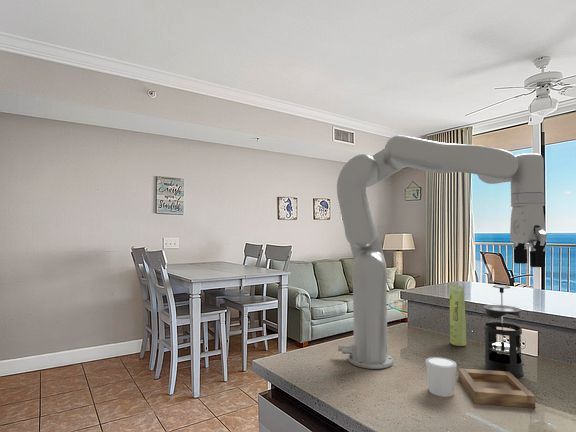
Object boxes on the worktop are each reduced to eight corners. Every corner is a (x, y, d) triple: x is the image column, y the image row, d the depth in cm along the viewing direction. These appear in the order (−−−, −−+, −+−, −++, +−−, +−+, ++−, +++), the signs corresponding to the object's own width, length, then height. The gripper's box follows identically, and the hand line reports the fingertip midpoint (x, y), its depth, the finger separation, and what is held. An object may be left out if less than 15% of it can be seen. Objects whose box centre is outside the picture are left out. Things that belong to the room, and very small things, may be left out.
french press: (534, 378, 95) (531, 288, 96) (498, 379, 95) (496, 288, 96) (505, 362, 107) (504, 281, 108) (473, 362, 107) (472, 282, 108)
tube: (446, 344, 124) (445, 285, 124) (450, 340, 128) (449, 283, 128) (464, 347, 120) (463, 286, 121) (468, 343, 124) (467, 285, 125)
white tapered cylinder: (441, 400, 84) (441, 368, 84) (419, 388, 90) (419, 358, 90) (463, 394, 86) (463, 364, 87) (441, 383, 93) (440, 355, 93)
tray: (474, 403, 82) (474, 391, 82) (458, 378, 96) (458, 368, 96) (535, 408, 80) (535, 396, 80) (509, 381, 93) (509, 371, 94)
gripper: (499, 203, 108) (500, 262, 108) (526, 198, 91) (527, 268, 91) (528, 202, 107) (529, 262, 106) (560, 198, 90) (562, 269, 89)
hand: (528, 265), depth 99 cm, fingers open, 9 cm apart
